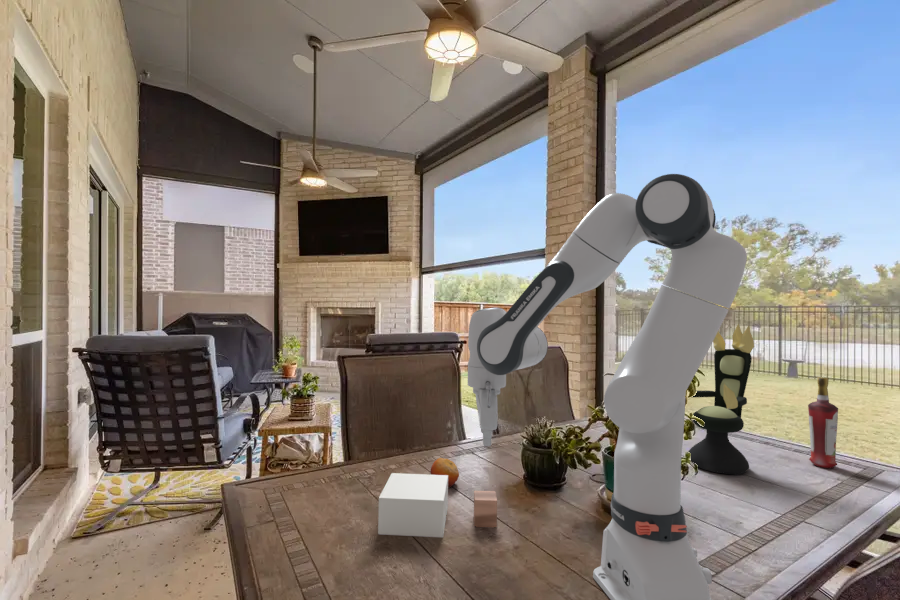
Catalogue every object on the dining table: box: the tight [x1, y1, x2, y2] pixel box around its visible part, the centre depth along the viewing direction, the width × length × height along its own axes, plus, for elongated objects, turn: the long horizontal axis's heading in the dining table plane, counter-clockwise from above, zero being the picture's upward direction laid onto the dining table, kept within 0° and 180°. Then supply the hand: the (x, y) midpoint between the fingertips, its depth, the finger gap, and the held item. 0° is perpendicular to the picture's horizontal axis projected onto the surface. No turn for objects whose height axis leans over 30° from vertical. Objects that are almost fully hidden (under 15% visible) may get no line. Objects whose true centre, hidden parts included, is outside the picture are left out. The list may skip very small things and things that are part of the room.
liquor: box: [807, 376, 839, 469], centre depth 139 cm, size 7×7×28 cm
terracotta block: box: [473, 490, 498, 528], centre depth 99 cm, size 5×5×6 cm
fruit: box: [430, 457, 460, 489], centre depth 120 cm, size 8×8×8 cm
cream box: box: [377, 472, 449, 538], centre depth 100 cm, size 14×14×8 cm
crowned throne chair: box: [687, 323, 755, 475], centre depth 139 cm, size 19×22×45 cm
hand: (485, 438), depth 100 cm, fingers open, 8 cm apart
